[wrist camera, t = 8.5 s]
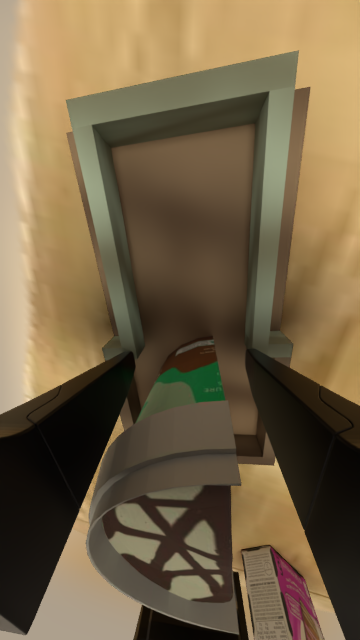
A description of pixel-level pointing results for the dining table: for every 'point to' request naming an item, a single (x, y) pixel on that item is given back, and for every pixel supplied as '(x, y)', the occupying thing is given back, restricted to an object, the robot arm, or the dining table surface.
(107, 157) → the green flat tray
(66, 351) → the dining table surface
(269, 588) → the candy bar box
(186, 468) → the food container
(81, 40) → the dining table surface
